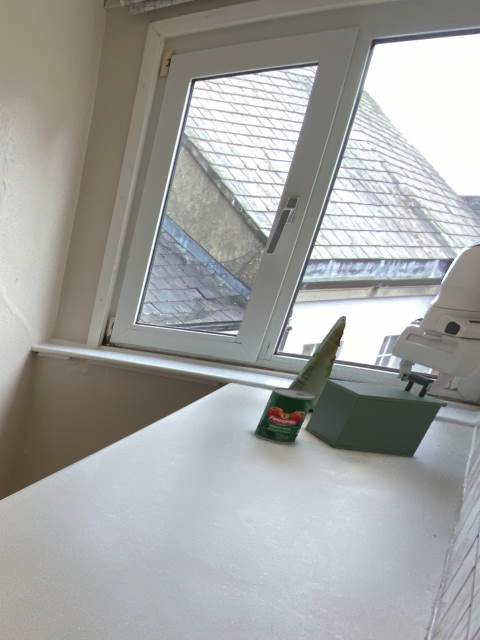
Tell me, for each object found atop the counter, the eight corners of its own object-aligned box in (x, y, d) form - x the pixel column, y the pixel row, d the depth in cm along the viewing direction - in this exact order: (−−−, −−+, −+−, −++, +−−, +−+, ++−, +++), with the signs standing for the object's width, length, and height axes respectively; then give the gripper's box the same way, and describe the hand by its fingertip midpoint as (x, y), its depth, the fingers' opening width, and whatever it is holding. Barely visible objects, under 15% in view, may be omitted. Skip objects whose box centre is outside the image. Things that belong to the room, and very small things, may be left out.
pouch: (302, 401, 158) (342, 312, 147) (339, 415, 147) (384, 320, 136) (267, 400, 157) (304, 310, 146) (300, 414, 147) (343, 318, 135)
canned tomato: (264, 441, 126) (284, 396, 121) (247, 429, 133) (265, 386, 128) (302, 445, 125) (323, 399, 120) (283, 433, 132) (303, 389, 127)
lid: (405, 390, 128) (416, 370, 125) (445, 407, 117) (458, 385, 114) (326, 382, 131) (335, 362, 128) (358, 397, 120) (368, 376, 117)
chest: (376, 437, 133) (401, 390, 128) (412, 457, 122) (441, 406, 117) (304, 428, 136) (326, 382, 131) (333, 447, 125) (357, 398, 120)
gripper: (400, 313, 125) (371, 372, 131) (470, 330, 107) (433, 397, 113) (432, 316, 124) (401, 375, 130) (509, 333, 106) (468, 401, 112)
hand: (416, 386), depth 121 cm, fingers open, 8 cm apart
